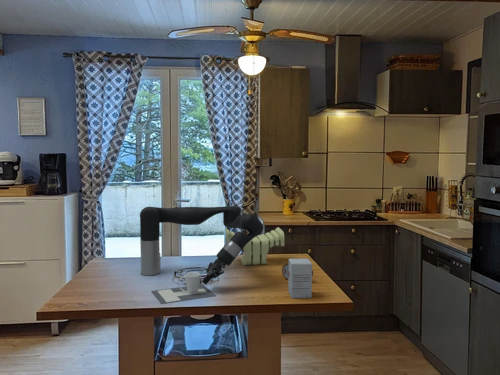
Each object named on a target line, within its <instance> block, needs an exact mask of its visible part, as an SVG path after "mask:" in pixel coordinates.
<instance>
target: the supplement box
mask: <svg viewBox="0 0 500 375" xmlns="http://www.w3.org/2000/svg"><path fill="white" fill-rule="evenodd" d="M288 262H289V268H288V279H287V280H288V281H287V283H288V284H287V286H288V288H287V290H288V295H289V296H290V298H291V299H312V295H313V291H312V290H313V276H312V270H313V263H312V262H311V260H309V258H288Z"/></svg>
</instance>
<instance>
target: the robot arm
mask: <svg viewBox="0 0 500 375" xmlns="http://www.w3.org/2000/svg"><path fill="white" fill-rule="evenodd" d="M219 214H222V224H223V226H224V227H226V228H227V229H240V230H243V231H247V232H248V233H246V234H244V233H243V232H241V231H236V232H234V233H235V234H234V236H233V237H232V238H231V239H230V240H229V241H228V242H226V243H225V244H224V245H223V247H221V249H220V250H219V251H218V252H217V254H216V257H217V258H216V259H215V260H214V261H213V262H212V261H210V262H209V264H208V267H207V268H206V275H205V276H204V277H203V279H202V280H201V283H202V284H203V285H204V286H206V285H207V284H209V282H210V281H211V279H212V280H213V279H217V278H218V277H220V276H222V275H223V274H224V273H225V270H224V269H225V267H226V266H227V267H229V266H230V265H231V264H232V263H234V261H235V260H236V258H237V257H238V256H239V255H240V253H241V252H242V250H243V248H244V246H245V245H246V244H247V243H248V242H249V241H251V240H252V239H253V238H255V237H257V236H258V235H261V234H262V232H263V230H264V224H263V223H262V222H261V221H260V220H259V219H258V218H257V217H255V215H253V214H252V213H247V214H242V208H241V207H240V206H238V205H237V206H236V205H235V206H234V205H229V206H228V205H227V206H179V207H156V206H146V207H144V208H142V209H141V211H140V212H139V221H140V222H139V226H140V228H139V230H140V231H139V232H140V235H139V238H140V239H139V240H140V243H139V244H140V274H141V275H143V276H148V277H149V276H156V275H159V274H160V273H161V271H162V270H161V268H162V266H161V252H160V251H161V250H160V233H161V232H160V228H161V227H160V226H161V225H160V223H162V224H163V223H168V224H169V223H170V224H177V225H183V226H199V225H201V224H203V223H205V222H206V221H207V220H209V219H211V218H212V217H215V216H216V215H219Z"/></svg>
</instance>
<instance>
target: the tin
mask: <svg viewBox="0 0 500 375" xmlns="http://www.w3.org/2000/svg"><path fill="white" fill-rule="evenodd" d="M288 268H289V261H287V262H285V264H284V265H283V266H282V268H281V272H282V273H281V274H282V276H283V277H284V278H285V279H287V280H288ZM313 276H314V270H313V269H312V277H313Z"/></svg>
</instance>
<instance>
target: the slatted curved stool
mask: <svg viewBox="0 0 500 375" xmlns="http://www.w3.org/2000/svg"><path fill="white" fill-rule="evenodd" d="M235 233H236V232H234V231H232V230H229V228H225V235H226V241H227V242H228V241H229V240H230V239H231V238H232V237H233V236H234V234H235ZM227 242H226V243H227ZM274 246H277V247H278V246H281V247H285V233H284V231H283V229H281V228H280V227H279V226H277V227H276V228H275V229H273V230H272V229H271V230H270V232H266V233H265V234H264V233H263V234H262V233H261V234H259V235H258V236H256V237H255V238H253V239H252V240H251V241H249V242H248V243H247V244H246V245H245V246H244V248H243V249H242V250H243V252H244V255H242V256H241V258H240V261H241V263H242V264H243V266H251V265H253V266H254V265H257V266H258V265H268V263H267V258H268V257H267V256H268V253H269V251H270V248H272V247H274Z"/></svg>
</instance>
